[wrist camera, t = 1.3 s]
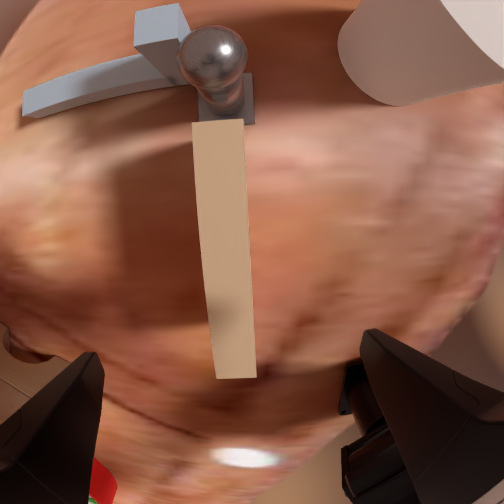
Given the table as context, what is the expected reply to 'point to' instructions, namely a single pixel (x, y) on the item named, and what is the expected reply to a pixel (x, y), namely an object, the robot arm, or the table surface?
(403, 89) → the off-white flat-topped cylinder
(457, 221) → the table surface
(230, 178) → the beige flat block
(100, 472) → the toy clock
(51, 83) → the strip
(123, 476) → the table surface
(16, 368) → the wooden toy
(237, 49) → the grey metallic round-topped post
